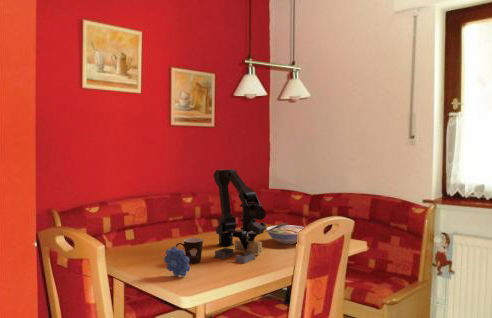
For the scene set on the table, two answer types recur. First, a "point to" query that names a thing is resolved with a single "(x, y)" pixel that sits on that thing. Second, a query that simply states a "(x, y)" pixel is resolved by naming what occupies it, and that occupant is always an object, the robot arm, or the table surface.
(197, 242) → the coffee mug
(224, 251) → the grey frame
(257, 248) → the brown rectangular block
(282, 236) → the ramen bowl
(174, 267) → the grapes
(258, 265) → the table surface
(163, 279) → the table surface
